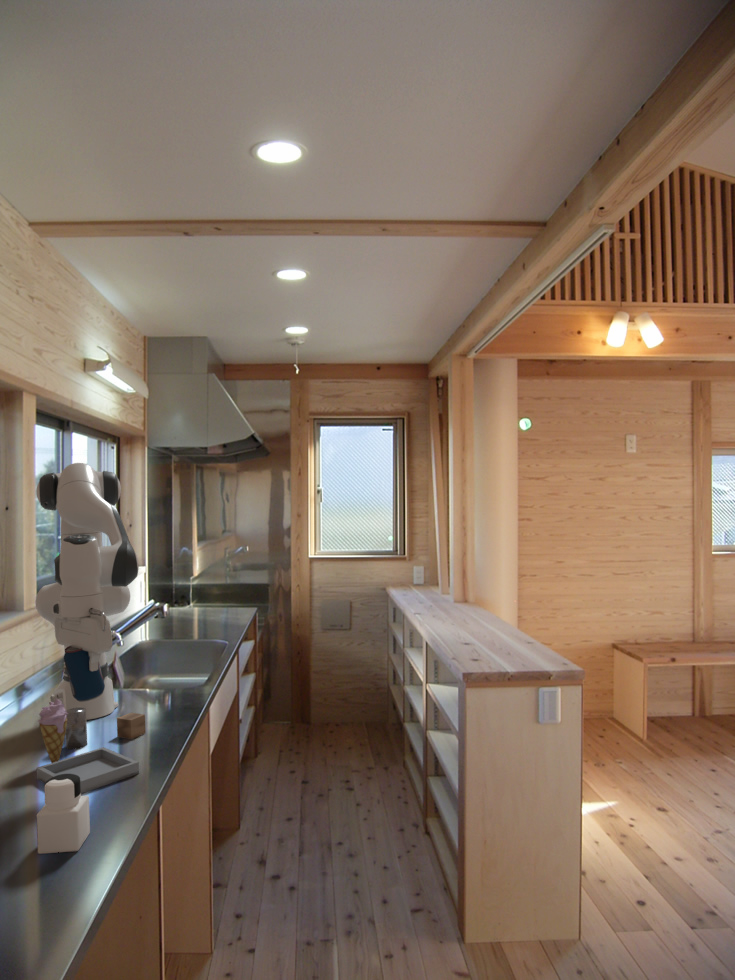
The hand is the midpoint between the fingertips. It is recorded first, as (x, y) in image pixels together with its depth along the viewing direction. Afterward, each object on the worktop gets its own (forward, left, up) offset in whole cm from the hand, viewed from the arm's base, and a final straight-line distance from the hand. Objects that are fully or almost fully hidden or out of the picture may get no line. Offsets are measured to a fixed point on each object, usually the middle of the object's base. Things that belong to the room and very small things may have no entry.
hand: (84, 668), depth 162 cm
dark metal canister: (-22, +8, -24) cm, 34 cm away
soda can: (0, +1, -7) cm, 7 cm away
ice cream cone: (-14, -1, -25) cm, 28 cm away
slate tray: (0, 0, -24) cm, 24 cm away
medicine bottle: (+27, -18, -25) cm, 41 cm away
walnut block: (-18, +21, -25) cm, 37 cm away
